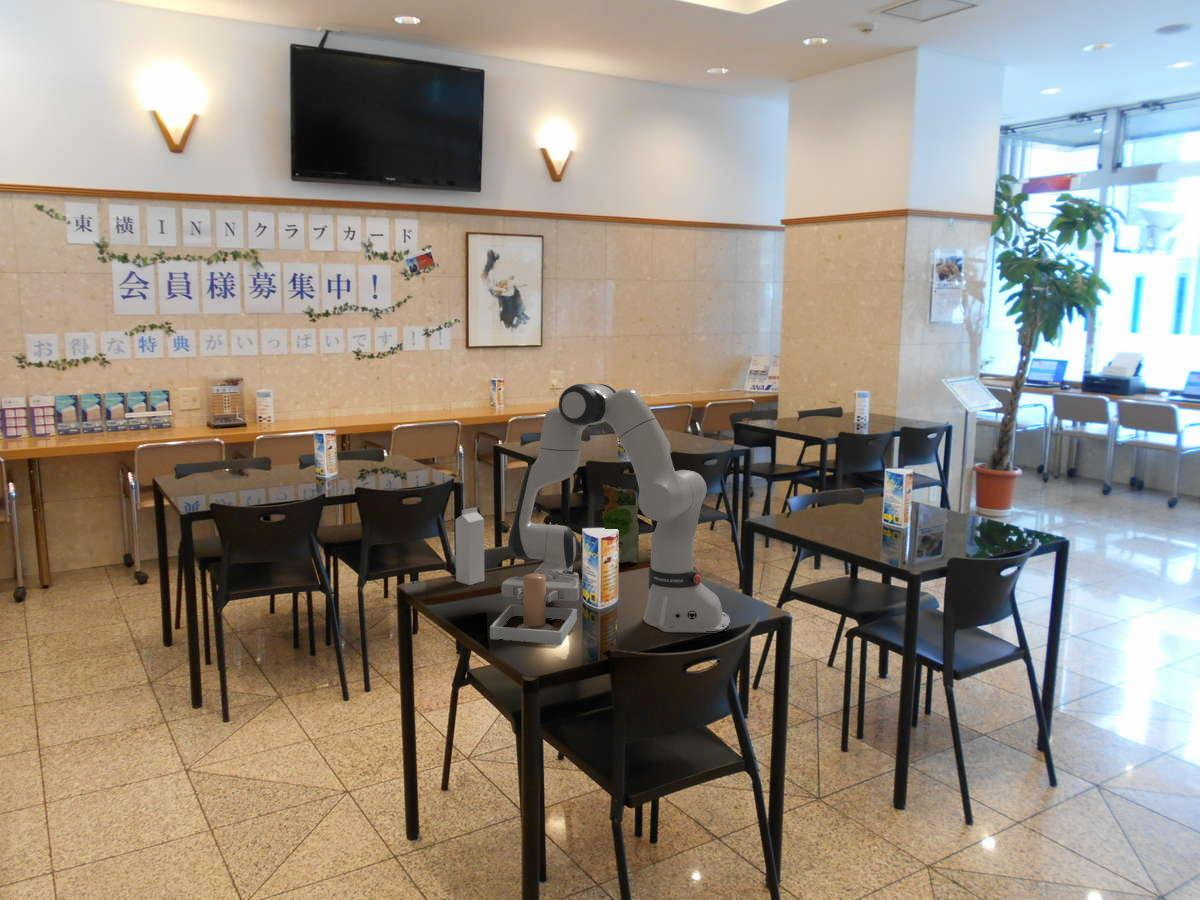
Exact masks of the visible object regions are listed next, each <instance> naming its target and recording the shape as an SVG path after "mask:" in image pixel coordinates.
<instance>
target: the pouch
mask: <svg viewBox="0 0 1200 900" xmlns="http://www.w3.org/2000/svg"><path fill="white" fill-rule="evenodd" d="M602 488H603V491H604V493H603V496H604V500H605V501H604V502H603V506H604V507H605V510H604V511H602V513H601V519H602V520H603V522H604V523H603V526H604V530H605V529H618V530H619V536H620V539H619V548H620V550H621V554H620V563H619V564H628V563H631V564H632V563H633V564H637V563H639V558H640V557H639V546H640V545H639V542H640V541H639V540H640V539H639V537H640V536H639V534H640V532H639V528H640V526H639V522H638V515H639V502H638V497H637V492H636V491H635V490H634V489H628V488H626V489H625V488H624V489H623V488H622V487H620V486H618V488H616V487H613V486H609V485H608V484H606V483H605V484H602Z"/></svg>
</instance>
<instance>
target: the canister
mask: <svg viewBox="0 0 1200 900" xmlns="http://www.w3.org/2000/svg"><path fill="white" fill-rule="evenodd" d="M522 577H523V600H522V601H523V604H522V605H523V617H522V619H523V623H522V624H525V625H528V626H541V625H544V624H545V623H546V622H547V621H546V620H547V619H546V607H547V606H546V605H547V602H544V600H545V598H544V596H545V595H546V576H545V575H543V574H538V573H534V572H532V573H527V574H524V575H523V576H522Z"/></svg>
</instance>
